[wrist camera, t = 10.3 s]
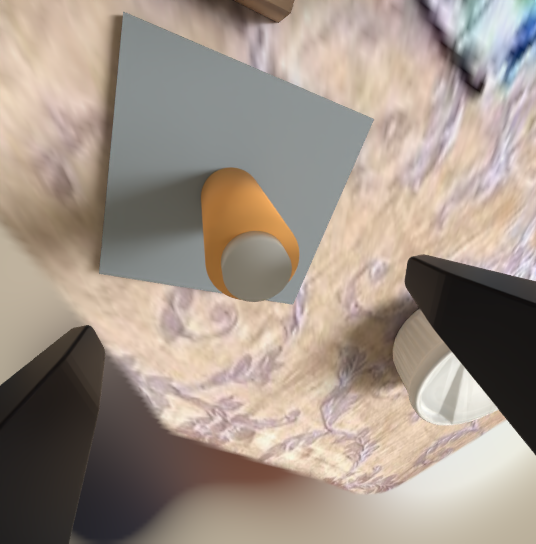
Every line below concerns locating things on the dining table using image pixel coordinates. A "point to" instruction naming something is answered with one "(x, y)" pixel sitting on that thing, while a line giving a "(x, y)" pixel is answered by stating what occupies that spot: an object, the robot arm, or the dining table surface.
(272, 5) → the brown square frame
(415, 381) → the ramekin
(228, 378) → the dining table surface
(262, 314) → the dining table surface
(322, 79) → the dining table surface
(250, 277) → the orange cylinder
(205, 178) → the rubber mat
